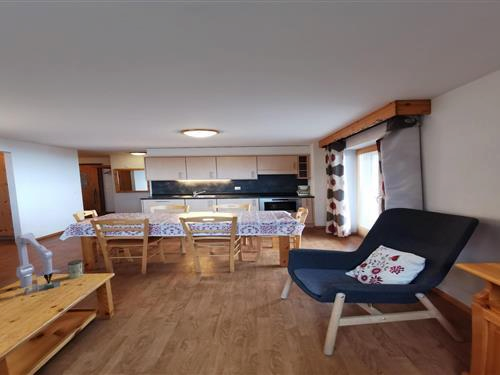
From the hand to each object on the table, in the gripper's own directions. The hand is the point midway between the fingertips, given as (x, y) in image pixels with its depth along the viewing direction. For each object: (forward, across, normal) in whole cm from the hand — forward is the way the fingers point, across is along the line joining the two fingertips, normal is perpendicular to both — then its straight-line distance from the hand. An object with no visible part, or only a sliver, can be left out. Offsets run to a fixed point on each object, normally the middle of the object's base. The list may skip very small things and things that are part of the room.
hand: (48, 283), depth 194 cm
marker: (+4, -8, +1) cm, 9 cm away
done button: (+1, 0, 0) cm, 1 cm away
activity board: (+5, -4, +4) cm, 8 cm away
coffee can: (+5, +18, +13) cm, 23 cm away
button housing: (+4, 0, 0) cm, 4 cm away
